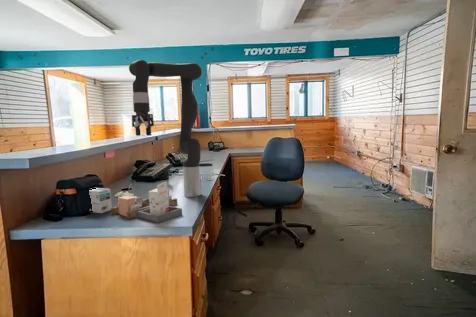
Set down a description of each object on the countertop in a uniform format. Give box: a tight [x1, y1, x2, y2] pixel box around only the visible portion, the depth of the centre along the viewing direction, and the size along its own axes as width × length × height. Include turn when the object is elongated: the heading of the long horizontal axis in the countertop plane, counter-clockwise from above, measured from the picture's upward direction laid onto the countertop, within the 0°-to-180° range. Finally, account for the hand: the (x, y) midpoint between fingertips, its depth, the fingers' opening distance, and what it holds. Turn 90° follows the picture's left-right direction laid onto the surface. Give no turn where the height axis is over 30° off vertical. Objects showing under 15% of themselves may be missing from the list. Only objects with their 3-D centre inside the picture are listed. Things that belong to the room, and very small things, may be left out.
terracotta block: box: [118, 195, 136, 217], centre depth 131 cm, size 4×7×8 cm, turn 54°
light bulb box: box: [89, 187, 113, 214], centre depth 139 cm, size 11×7×11 cm, turn 65°
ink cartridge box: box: [148, 181, 169, 216], centre depth 126 cm, size 9×5×15 cm, turn 164°
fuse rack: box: [110, 195, 178, 220], centre depth 139 cm, size 28×14×5 cm, turn 144°
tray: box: [137, 206, 183, 224], centre depth 127 cm, size 14×14×3 cm
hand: (143, 135), depth 141 cm, fingers open, 8 cm apart
